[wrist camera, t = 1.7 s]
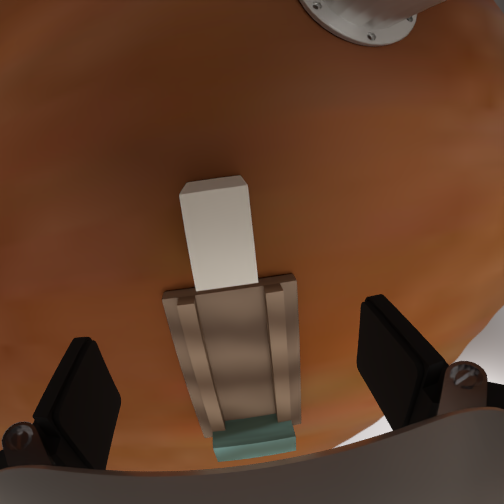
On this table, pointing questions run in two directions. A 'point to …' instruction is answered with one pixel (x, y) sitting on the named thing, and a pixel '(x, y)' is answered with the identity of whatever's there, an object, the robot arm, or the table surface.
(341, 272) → the table surface
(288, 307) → the channel board
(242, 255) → the cream block
